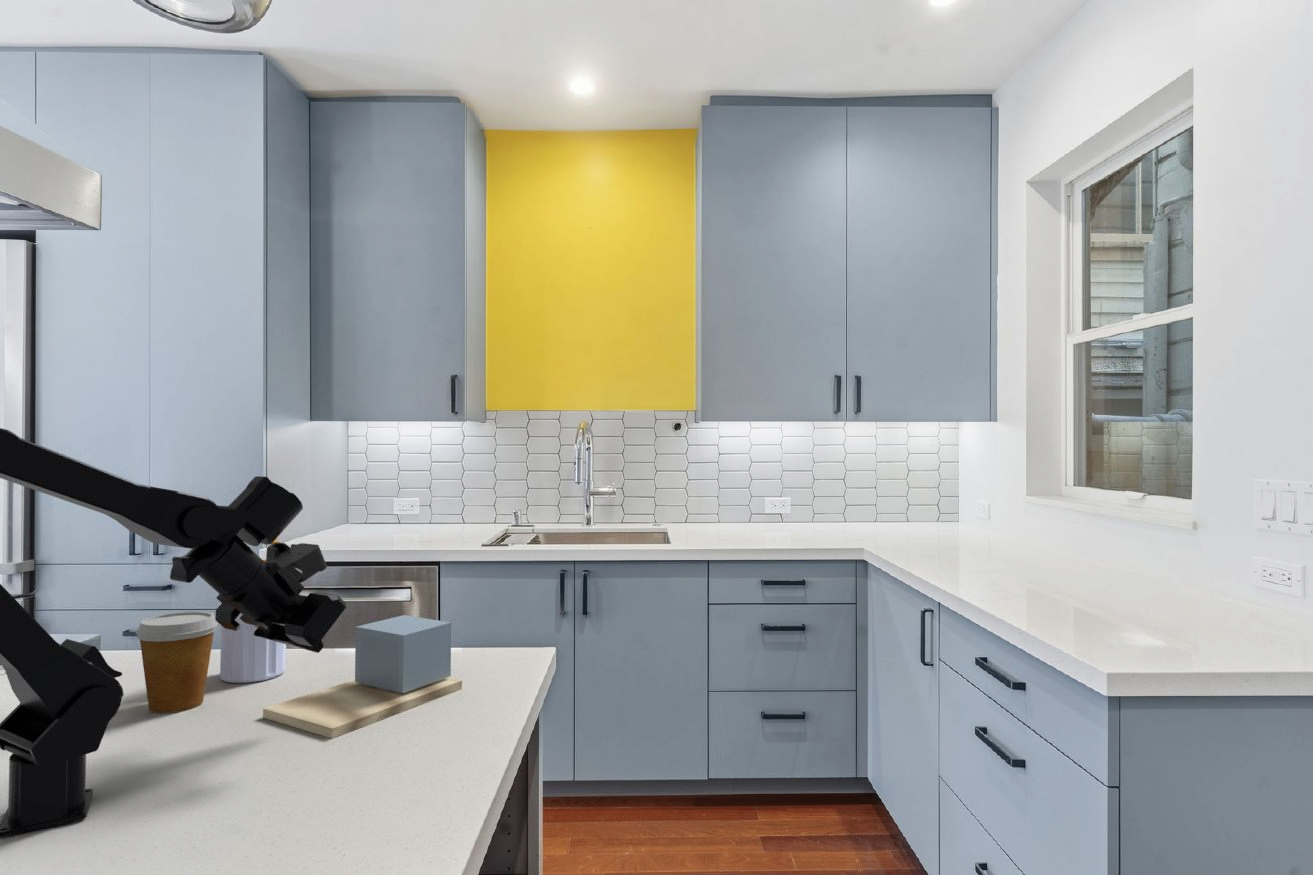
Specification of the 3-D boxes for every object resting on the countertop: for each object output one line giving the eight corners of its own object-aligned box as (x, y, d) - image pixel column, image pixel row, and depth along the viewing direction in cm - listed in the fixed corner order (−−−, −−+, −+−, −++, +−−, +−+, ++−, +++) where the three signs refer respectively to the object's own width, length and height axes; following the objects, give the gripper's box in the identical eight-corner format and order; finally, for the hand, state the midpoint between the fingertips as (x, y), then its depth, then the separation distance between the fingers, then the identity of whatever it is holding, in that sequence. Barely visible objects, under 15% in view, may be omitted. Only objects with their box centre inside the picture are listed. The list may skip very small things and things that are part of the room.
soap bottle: (225, 670, 117) (228, 516, 118) (289, 664, 120) (291, 515, 121) (213, 686, 109) (216, 521, 109) (282, 680, 112) (284, 520, 113)
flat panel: (332, 738, 90) (333, 695, 90) (263, 717, 96) (263, 677, 96) (462, 688, 109) (462, 653, 109) (396, 674, 116) (396, 641, 116)
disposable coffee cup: (222, 691, 107) (223, 608, 107) (208, 712, 98) (210, 622, 98) (145, 698, 104) (147, 613, 104) (124, 721, 95) (126, 628, 95)
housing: (402, 693, 102) (403, 635, 102) (354, 681, 106) (355, 626, 107) (450, 676, 109) (451, 622, 110) (403, 666, 114) (404, 614, 114)
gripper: (334, 527, 87) (405, 606, 97) (241, 520, 96) (314, 592, 106) (269, 604, 80) (352, 681, 89) (176, 588, 89) (260, 659, 98)
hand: (319, 649), depth 96 cm, fingers closed
